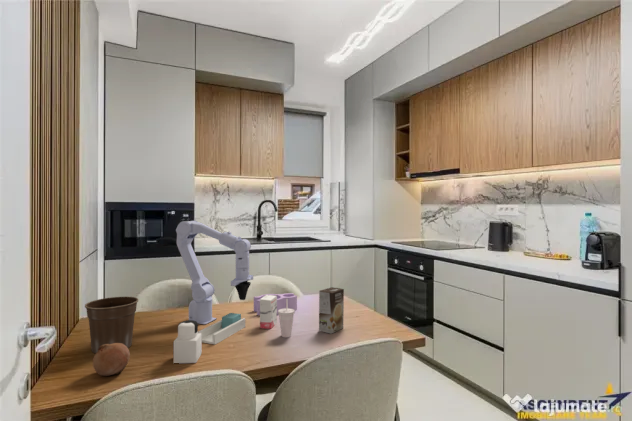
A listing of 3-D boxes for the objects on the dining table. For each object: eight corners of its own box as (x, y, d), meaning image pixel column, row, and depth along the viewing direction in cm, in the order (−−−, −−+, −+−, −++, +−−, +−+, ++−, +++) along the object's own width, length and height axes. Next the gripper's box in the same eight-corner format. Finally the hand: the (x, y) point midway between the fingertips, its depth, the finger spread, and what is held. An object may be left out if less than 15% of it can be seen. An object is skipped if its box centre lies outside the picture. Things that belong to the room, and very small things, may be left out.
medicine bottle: (179, 354, 116) (179, 318, 116) (201, 353, 117) (201, 318, 117) (172, 364, 109) (173, 325, 109) (196, 363, 110) (196, 325, 110)
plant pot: (104, 338, 130) (104, 295, 130) (147, 339, 130) (147, 296, 130) (73, 357, 114) (73, 307, 114) (121, 357, 114) (121, 308, 114)
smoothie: (297, 333, 136) (297, 298, 136) (290, 339, 130) (290, 302, 130) (282, 331, 138) (282, 296, 138) (275, 337, 132) (275, 300, 132)
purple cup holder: (291, 305, 176) (291, 291, 176) (300, 312, 165) (300, 297, 165) (252, 309, 169) (252, 295, 168) (258, 317, 157) (258, 302, 157)
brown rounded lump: (96, 387, 101) (78, 359, 99) (119, 364, 110) (102, 338, 108) (121, 379, 98) (102, 351, 96) (142, 357, 107) (126, 330, 105)
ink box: (270, 329, 141) (270, 300, 141) (259, 328, 142) (259, 299, 142) (277, 322, 149) (277, 295, 149) (266, 321, 150) (266, 294, 150)
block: (230, 323, 145) (230, 312, 145) (240, 325, 143) (240, 314, 143) (221, 328, 139) (221, 316, 139) (232, 329, 138) (232, 318, 138)
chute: (228, 324, 146) (228, 316, 146) (245, 326, 144) (245, 318, 144) (197, 341, 128) (197, 331, 128) (215, 344, 125) (215, 334, 125)
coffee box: (331, 334, 136) (332, 293, 135) (318, 330, 139) (318, 290, 139) (344, 327, 143) (344, 288, 143) (330, 324, 147) (331, 286, 147)
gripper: (241, 271, 140) (241, 304, 141) (259, 265, 154) (259, 296, 154) (226, 270, 143) (226, 303, 143) (245, 264, 157) (245, 294, 157)
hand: (242, 299), depth 149 cm, fingers closed
